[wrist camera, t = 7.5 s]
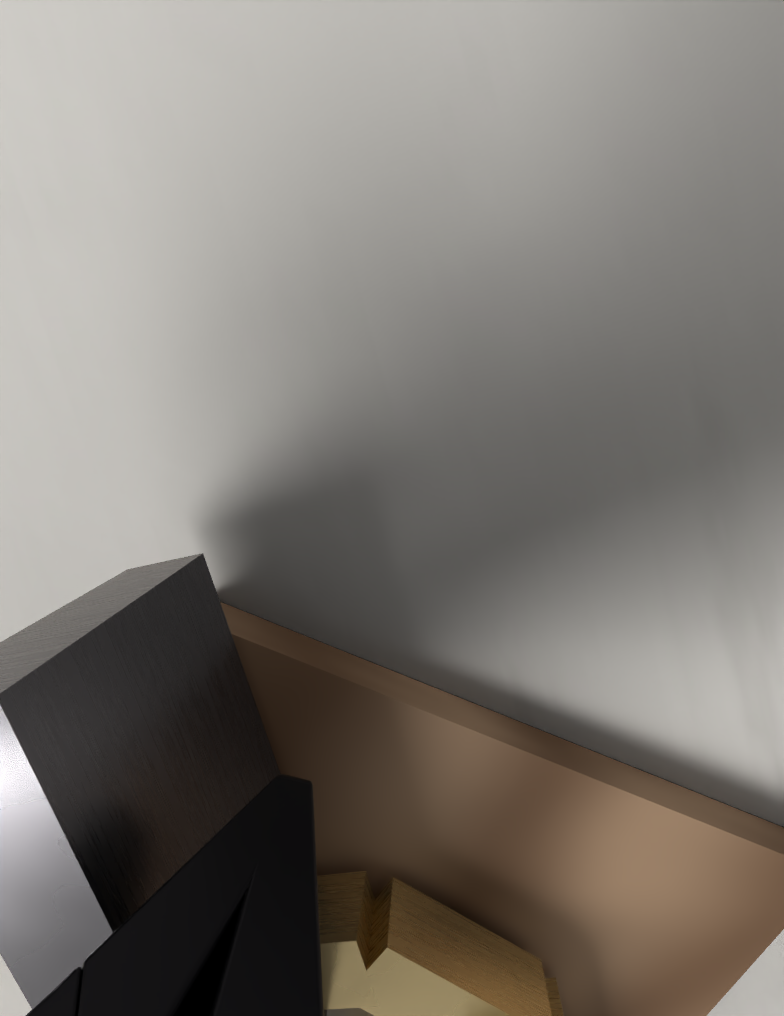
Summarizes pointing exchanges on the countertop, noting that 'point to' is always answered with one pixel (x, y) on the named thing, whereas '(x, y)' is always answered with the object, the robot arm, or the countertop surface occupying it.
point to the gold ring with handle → (187, 805)
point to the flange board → (520, 830)
